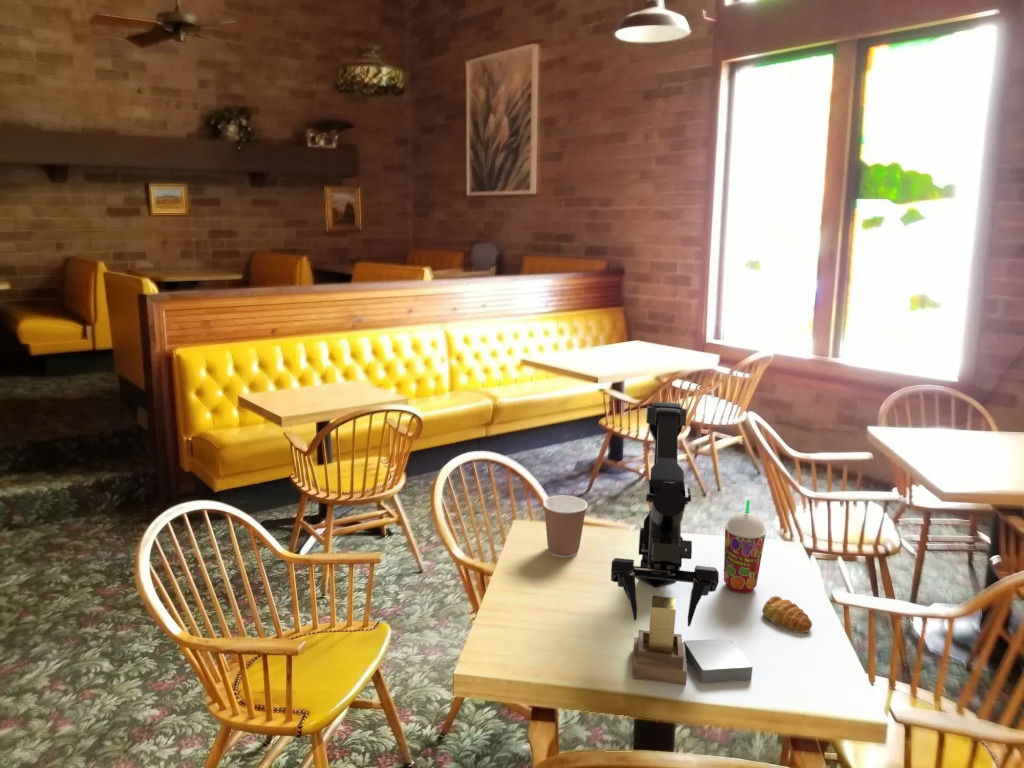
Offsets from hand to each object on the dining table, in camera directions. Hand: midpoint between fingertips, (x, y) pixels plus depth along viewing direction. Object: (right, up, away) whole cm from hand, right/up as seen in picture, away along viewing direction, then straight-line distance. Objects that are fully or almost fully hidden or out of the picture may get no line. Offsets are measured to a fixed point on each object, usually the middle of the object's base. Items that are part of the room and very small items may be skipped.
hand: (662, 622), depth 132 cm
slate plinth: (+10, -9, +3) cm, 14 cm away
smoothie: (+23, -2, +31) cm, 39 cm away
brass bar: (0, -6, +2) cm, 6 cm away
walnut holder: (0, -8, +2) cm, 9 cm away
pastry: (+28, -6, +18) cm, 34 cm away
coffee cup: (-14, +2, +46) cm, 48 cm away
